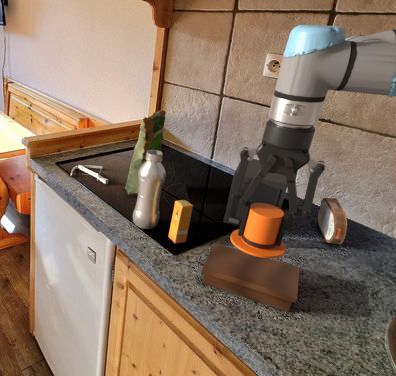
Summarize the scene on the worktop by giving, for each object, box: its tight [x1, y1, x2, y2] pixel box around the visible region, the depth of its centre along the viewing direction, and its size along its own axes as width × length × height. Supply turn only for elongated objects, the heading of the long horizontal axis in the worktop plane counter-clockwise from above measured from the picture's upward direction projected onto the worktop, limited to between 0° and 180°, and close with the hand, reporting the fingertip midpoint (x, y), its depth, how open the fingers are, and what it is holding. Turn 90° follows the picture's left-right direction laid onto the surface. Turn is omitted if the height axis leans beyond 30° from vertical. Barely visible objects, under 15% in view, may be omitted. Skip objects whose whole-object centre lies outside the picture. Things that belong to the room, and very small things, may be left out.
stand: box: [201, 242, 300, 313], centre depth 83 cm, size 17×11×4 cm, turn 60°
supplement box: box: [168, 199, 194, 244], centre depth 96 cm, size 3×3×10 cm
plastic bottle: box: [132, 150, 167, 230], centre depth 99 cm, size 6×7×20 cm
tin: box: [317, 197, 348, 246], centre depth 100 cm, size 15×3×8 cm, turn 161°
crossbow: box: [70, 164, 109, 185], centre depth 132 cm, size 16×13×2 cm
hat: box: [230, 203, 287, 259], centre depth 78 cm, size 10×10×8 cm
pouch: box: [124, 109, 167, 196], centre depth 116 cm, size 11×12×25 cm
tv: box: [223, 158, 288, 227], centre depth 106 cm, size 12×14×14 cm
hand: (259, 237), depth 79 cm, fingers closed on hat, 6 cm apart
